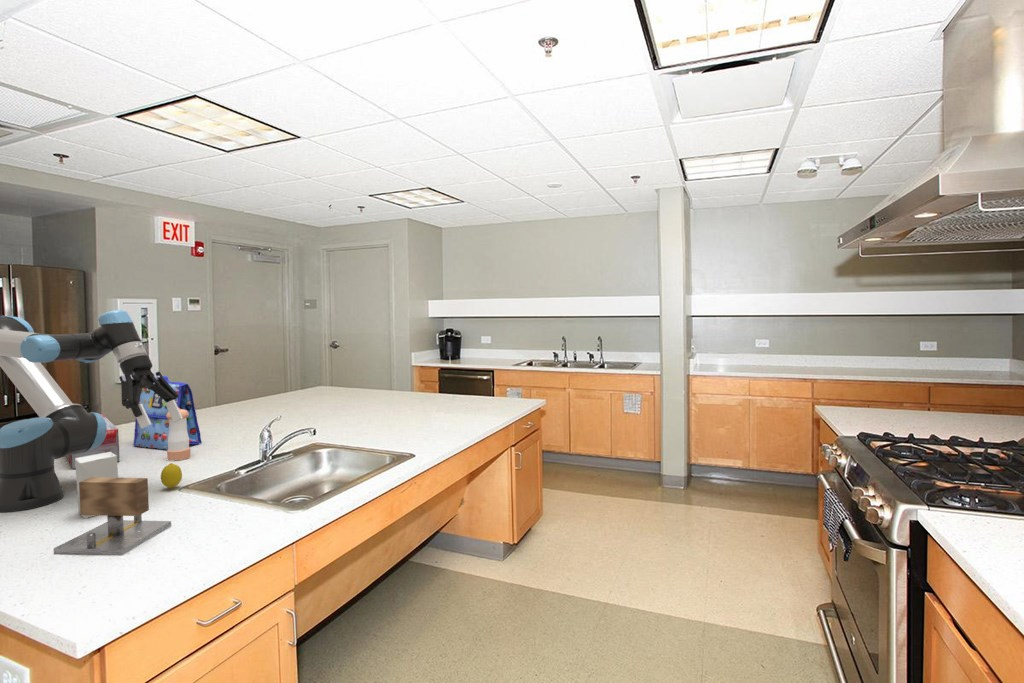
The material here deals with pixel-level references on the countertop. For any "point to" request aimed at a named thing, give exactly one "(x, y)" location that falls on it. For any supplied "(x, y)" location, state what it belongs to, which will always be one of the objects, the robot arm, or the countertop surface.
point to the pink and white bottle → (178, 438)
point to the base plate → (113, 537)
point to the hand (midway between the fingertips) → (163, 423)
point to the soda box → (107, 446)
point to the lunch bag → (157, 413)
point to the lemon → (171, 475)
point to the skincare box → (95, 469)
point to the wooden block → (114, 496)
